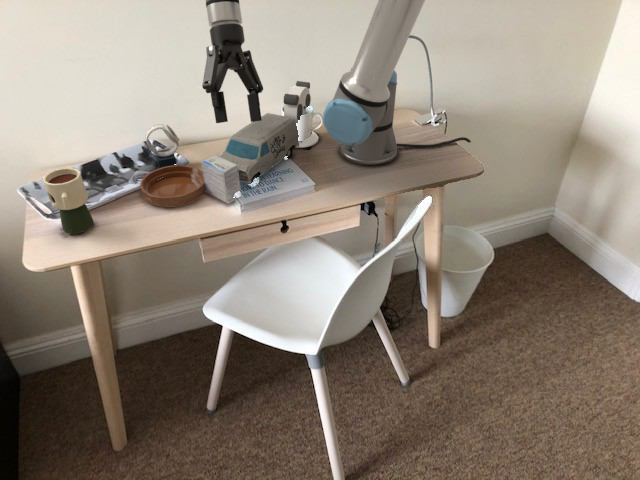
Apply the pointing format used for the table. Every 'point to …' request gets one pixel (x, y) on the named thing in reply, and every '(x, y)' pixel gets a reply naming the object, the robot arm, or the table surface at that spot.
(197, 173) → the bowl
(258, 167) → the toy car
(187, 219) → the table surface
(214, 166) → the medicine box
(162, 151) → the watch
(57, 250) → the table surface
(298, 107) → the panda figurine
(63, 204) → the character mug
